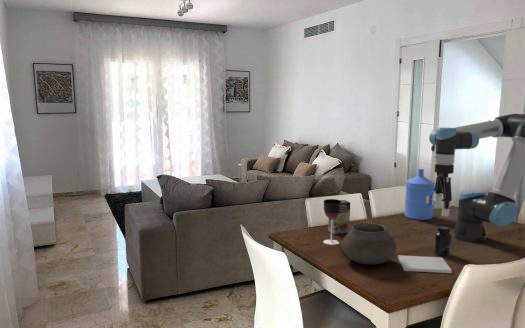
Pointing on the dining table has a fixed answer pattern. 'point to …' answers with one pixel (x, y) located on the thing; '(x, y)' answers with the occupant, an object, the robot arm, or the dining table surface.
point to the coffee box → (341, 219)
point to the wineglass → (332, 215)
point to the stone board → (424, 264)
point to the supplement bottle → (442, 241)
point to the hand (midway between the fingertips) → (441, 211)
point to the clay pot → (369, 244)
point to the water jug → (419, 197)
